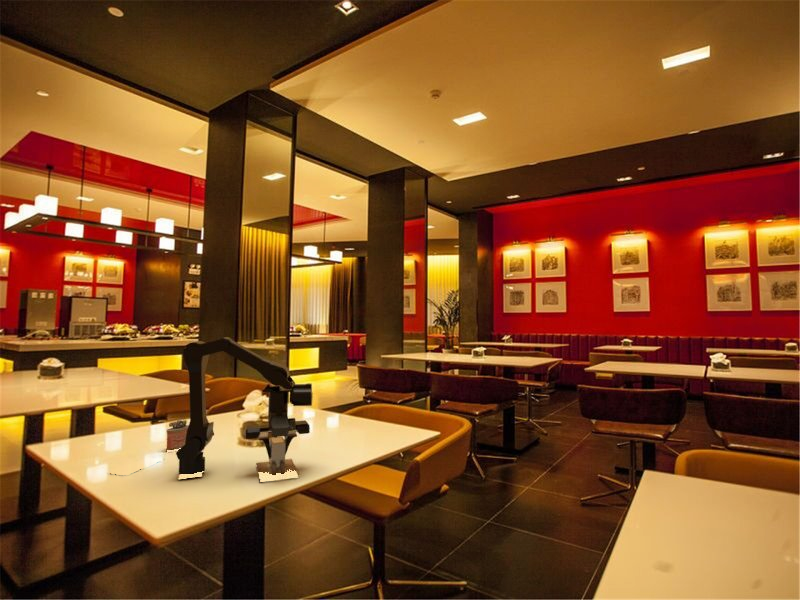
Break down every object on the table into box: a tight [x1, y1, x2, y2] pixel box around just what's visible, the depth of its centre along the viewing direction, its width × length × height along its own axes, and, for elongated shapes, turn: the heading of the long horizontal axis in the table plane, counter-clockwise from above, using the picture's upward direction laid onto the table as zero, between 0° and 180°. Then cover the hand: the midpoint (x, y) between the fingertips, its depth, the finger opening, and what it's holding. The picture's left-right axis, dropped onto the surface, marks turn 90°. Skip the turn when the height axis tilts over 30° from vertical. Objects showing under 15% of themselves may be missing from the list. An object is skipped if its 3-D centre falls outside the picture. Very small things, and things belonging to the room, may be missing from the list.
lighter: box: [165, 419, 189, 451], centre depth 150 cm, size 8×3×10 cm, turn 149°
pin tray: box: [255, 458, 298, 475], centre depth 130 cm, size 11×14×4 cm
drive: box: [268, 436, 286, 468], centre depth 130 cm, size 4×7×7 cm, turn 23°
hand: (276, 457), depth 130 cm, fingers closed on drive, 4 cm apart
